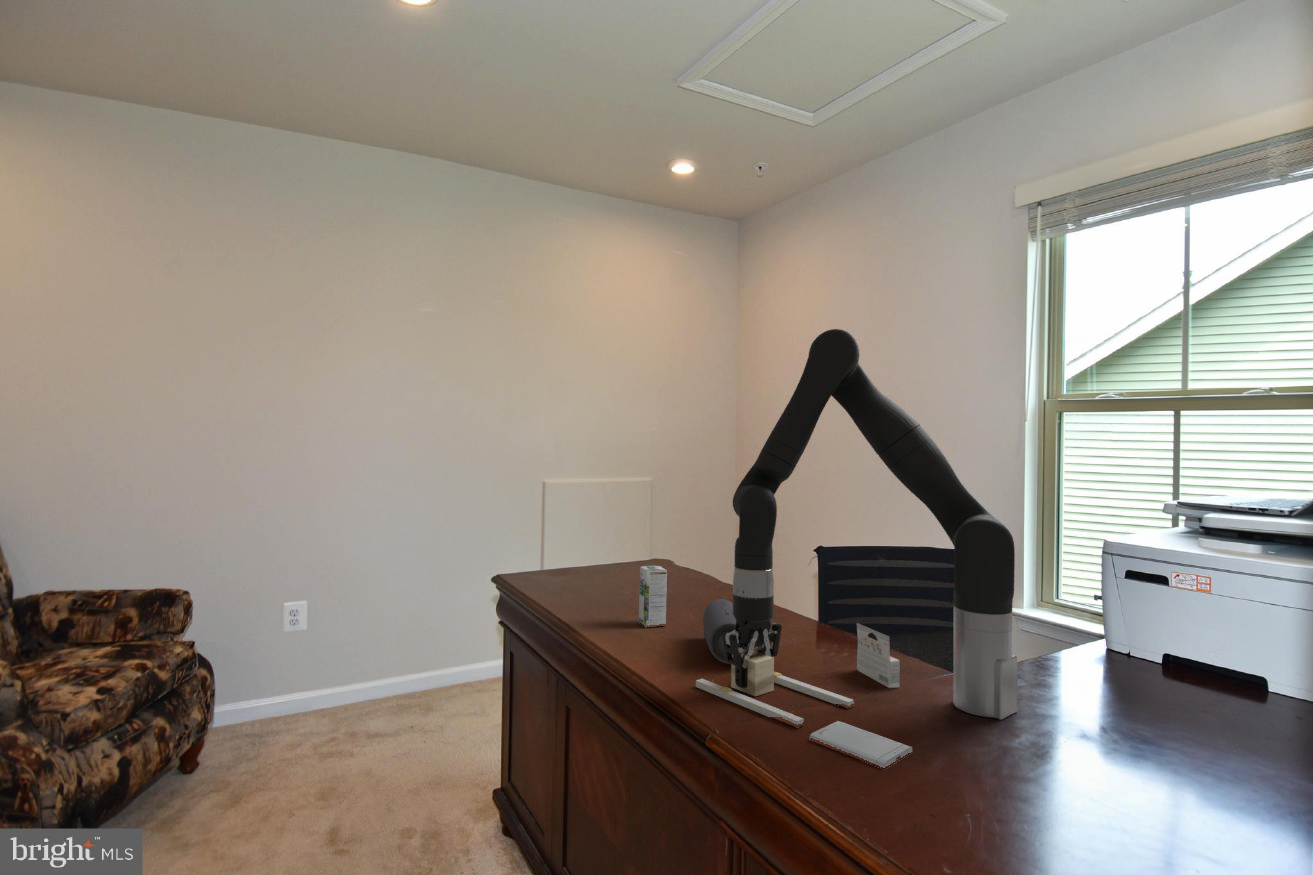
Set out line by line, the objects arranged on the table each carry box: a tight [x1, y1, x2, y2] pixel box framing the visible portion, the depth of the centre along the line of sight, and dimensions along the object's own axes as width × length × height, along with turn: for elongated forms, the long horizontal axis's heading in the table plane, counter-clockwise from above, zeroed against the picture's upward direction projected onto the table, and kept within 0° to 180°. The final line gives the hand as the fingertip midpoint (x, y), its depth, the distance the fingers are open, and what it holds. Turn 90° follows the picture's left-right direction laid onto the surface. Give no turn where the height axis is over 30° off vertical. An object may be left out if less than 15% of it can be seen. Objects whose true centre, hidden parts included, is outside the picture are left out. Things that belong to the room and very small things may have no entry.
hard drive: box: [809, 720, 913, 768], centre depth 102 cm, size 2×8×12 cm
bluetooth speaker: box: [702, 598, 747, 664], centre depth 148 cm, size 23×9×10 cm, turn 179°
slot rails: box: [695, 671, 855, 725], centre depth 122 cm, size 24×15×1 cm, turn 39°
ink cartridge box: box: [856, 622, 901, 689], centre depth 132 cm, size 2×11×10 cm, turn 16°
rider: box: [730, 650, 775, 697], centre depth 126 cm, size 6×5×6 cm
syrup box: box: [638, 565, 668, 626], centre depth 171 cm, size 6×6×14 cm
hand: (752, 683), depth 126 cm, fingers closed on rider, 5 cm apart
